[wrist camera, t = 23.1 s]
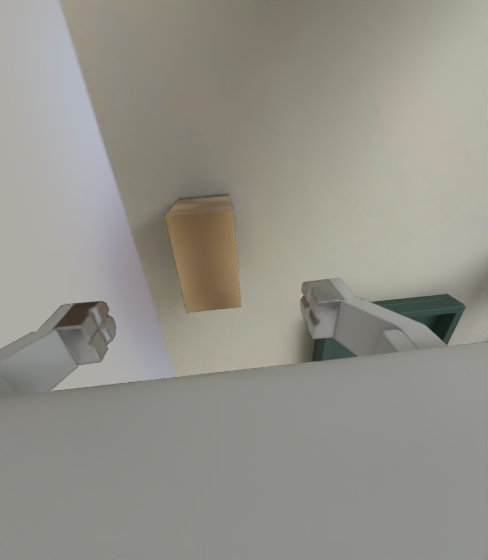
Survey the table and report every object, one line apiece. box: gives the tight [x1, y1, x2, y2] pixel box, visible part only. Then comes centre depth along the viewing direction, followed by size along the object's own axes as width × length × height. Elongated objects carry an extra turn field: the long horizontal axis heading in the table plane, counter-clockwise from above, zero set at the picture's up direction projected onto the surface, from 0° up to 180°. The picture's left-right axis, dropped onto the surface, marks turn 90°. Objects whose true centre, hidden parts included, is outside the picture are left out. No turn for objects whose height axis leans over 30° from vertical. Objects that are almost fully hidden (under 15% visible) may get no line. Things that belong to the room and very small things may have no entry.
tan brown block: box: [165, 194, 241, 313], centre depth 18 cm, size 4×7×6 cm, turn 4°
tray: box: [313, 294, 466, 362], centre depth 30 cm, size 22×15×2 cm
